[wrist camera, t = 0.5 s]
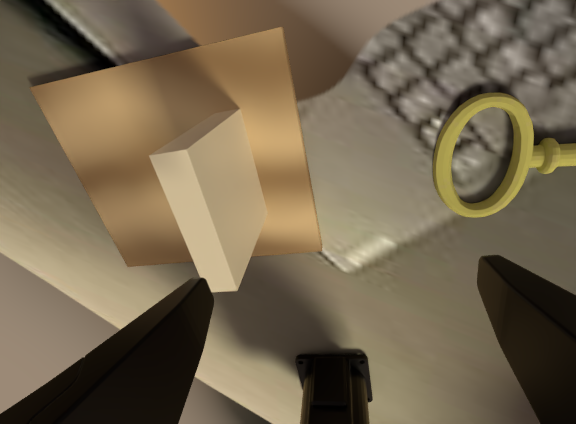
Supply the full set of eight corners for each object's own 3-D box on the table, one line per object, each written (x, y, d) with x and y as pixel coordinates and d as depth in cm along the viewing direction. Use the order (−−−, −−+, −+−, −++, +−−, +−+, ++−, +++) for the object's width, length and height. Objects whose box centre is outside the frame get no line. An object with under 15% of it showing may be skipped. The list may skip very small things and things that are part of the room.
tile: (267, 213, 21) (237, 290, 15) (244, 215, 22) (205, 292, 15) (240, 108, 18) (186, 149, 12) (214, 113, 18) (147, 155, 12)
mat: (322, 246, 23) (322, 250, 22) (131, 262, 26) (127, 266, 26) (283, 26, 16) (281, 26, 16) (37, 86, 20) (29, 87, 19)
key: (683, 144, 17) (725, 158, 15) (443, 217, 21) (453, 235, 19) (689, 2, 14) (742, -3, 12) (412, 118, 18) (421, 127, 16)
